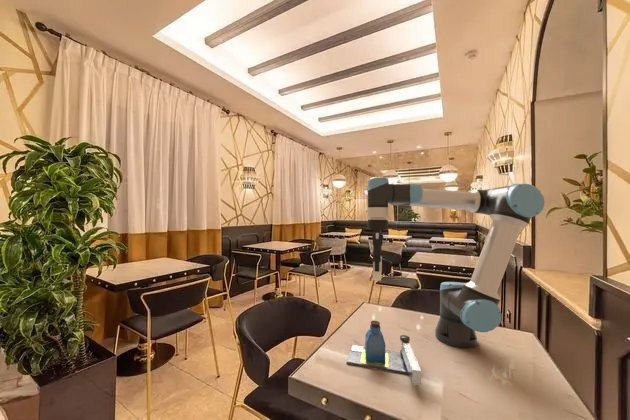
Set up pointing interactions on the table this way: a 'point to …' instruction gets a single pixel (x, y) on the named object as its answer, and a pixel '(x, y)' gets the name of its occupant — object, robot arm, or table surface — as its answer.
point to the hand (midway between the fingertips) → (377, 276)
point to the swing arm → (410, 360)
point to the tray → (392, 363)
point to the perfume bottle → (375, 344)
